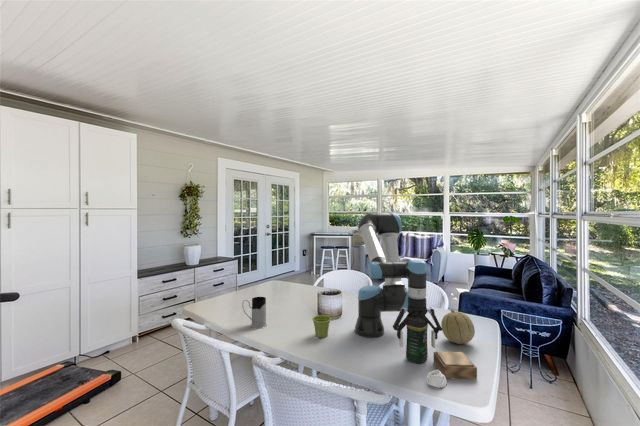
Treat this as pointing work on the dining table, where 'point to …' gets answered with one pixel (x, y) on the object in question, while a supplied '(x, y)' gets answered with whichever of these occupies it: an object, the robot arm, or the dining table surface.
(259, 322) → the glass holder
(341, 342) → the dining table surface
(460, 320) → the cantaloupe
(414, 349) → the coffee jar
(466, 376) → the walnut pedestal block
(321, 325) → the plant pot
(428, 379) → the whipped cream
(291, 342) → the dining table surface
